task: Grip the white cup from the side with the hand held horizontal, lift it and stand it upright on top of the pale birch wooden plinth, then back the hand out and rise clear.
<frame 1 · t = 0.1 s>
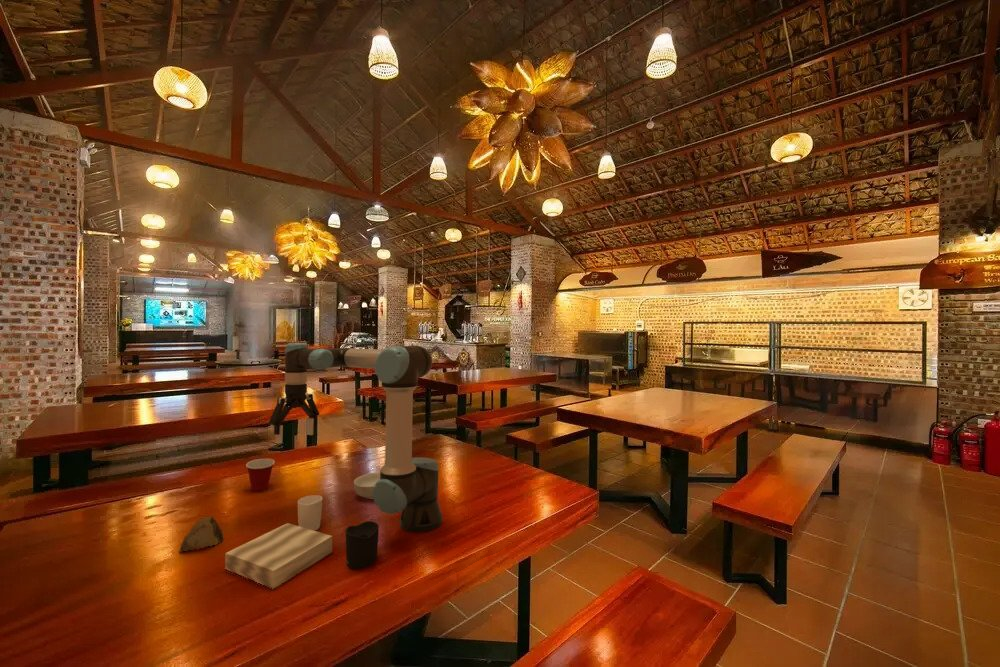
hand: (295, 438, 151), 28 cm above the table, tool pointing down, fingers open, 13 cm apart
rock: (201, 547, 126), on the table
cereal bowl: (374, 495, 167), on the table
pen holder: (361, 562, 119), on the table
plastic cup: (260, 490, 171), on the table
white cup: (309, 528, 138), on the table
birch plinth: (280, 560, 118), on the table
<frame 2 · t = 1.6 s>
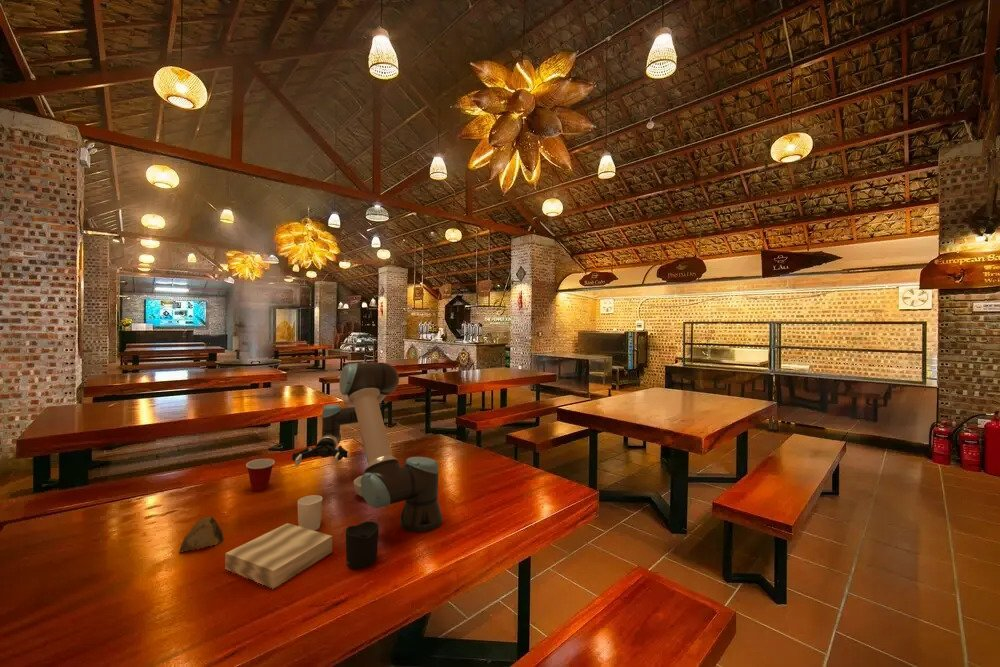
hand: (316, 462, 148), 20 cm above the table, tool horizontal, fingers open, 13 cm apart
nothing on the table moved.
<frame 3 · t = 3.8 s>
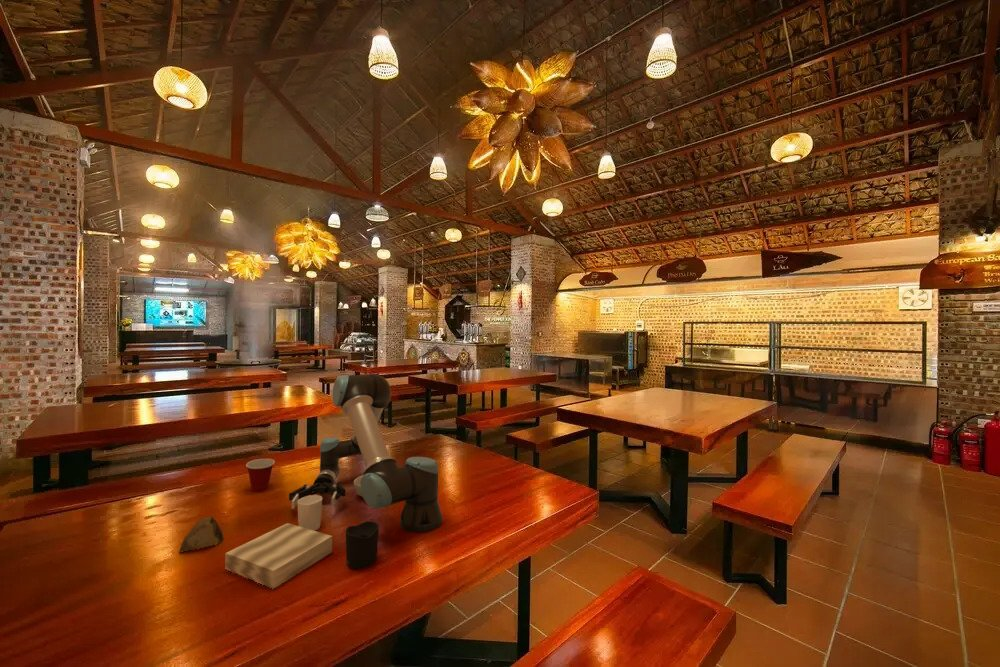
hand: (312, 503, 145), 6 cm above the table, tool horizontal, fingers open, 13 cm apart
nothing on the table moved.
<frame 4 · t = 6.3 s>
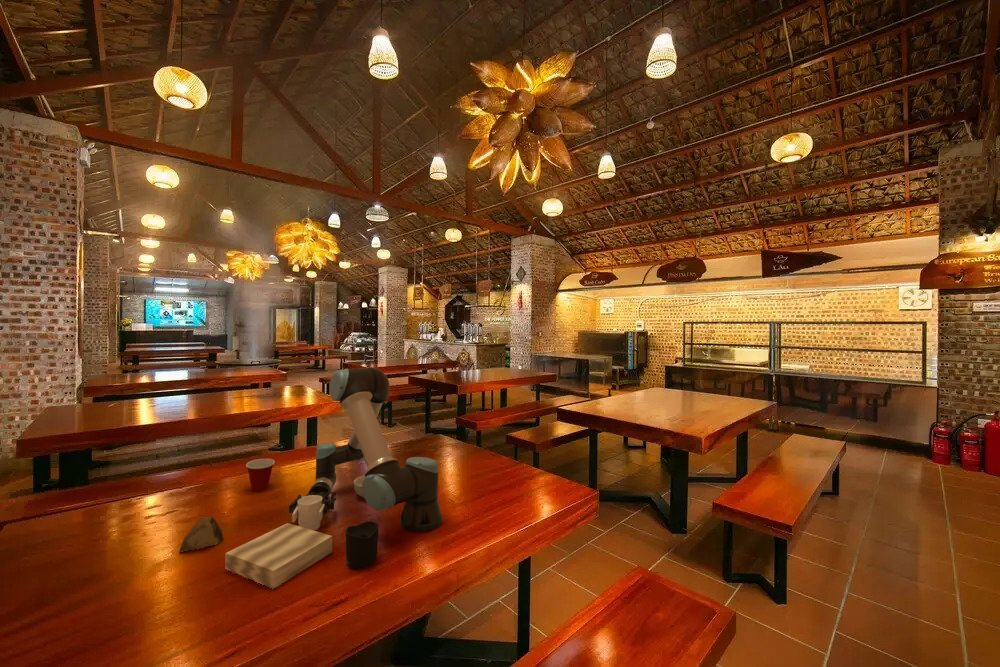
hand: (306, 517, 134), 6 cm above the table, tool horizontal, fingers closed on white cup, 8 cm apart
white cup: (309, 528, 138), on the table, touching gripper
everything else where it was.
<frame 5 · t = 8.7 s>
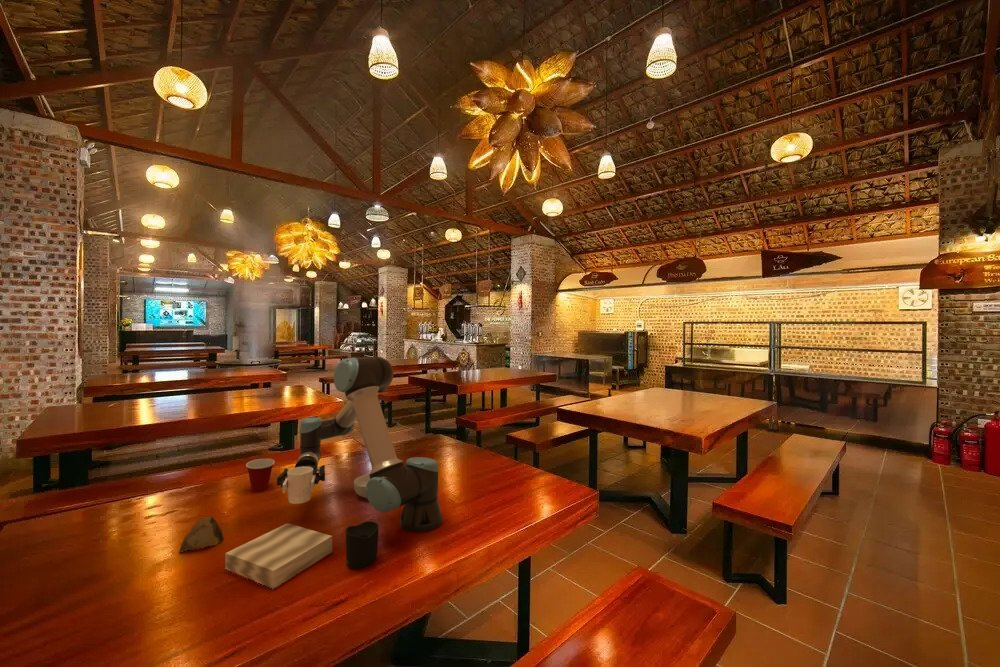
hand: (298, 487, 129), 18 cm above the table, tool horizontal, fingers closed on white cup, 8 cm apart
white cup: (299, 500, 133), point 12 cm above the table, touching gripper
everything else where it was.
when the fingers open (12 cm above the table, at t = 11.4 s): white cup drops 1 cm, resting on birch plinth.
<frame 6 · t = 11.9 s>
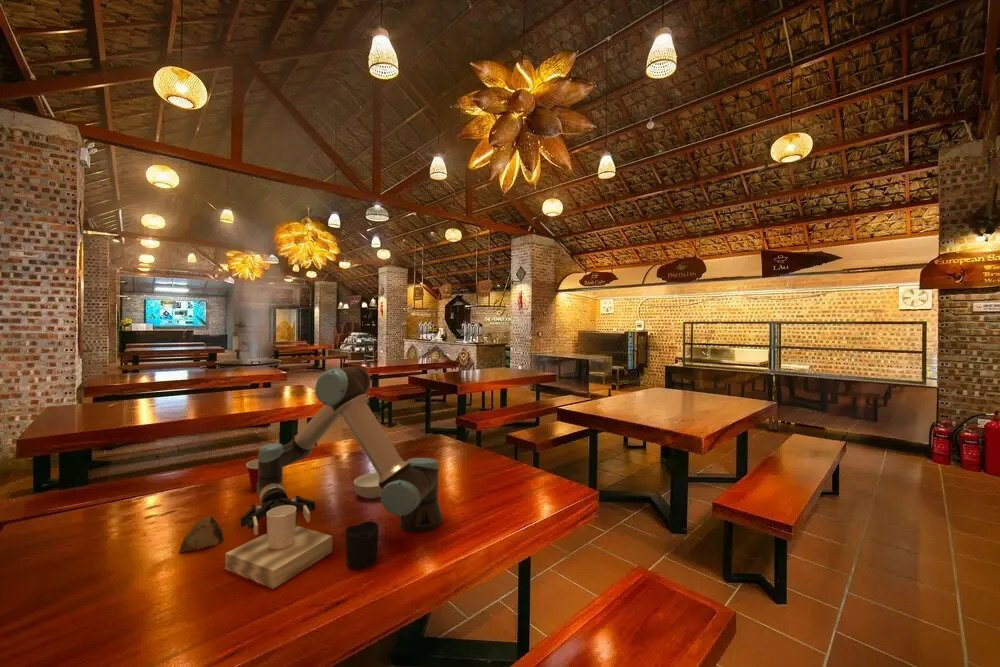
hand: (283, 523, 116), 12 cm above the table, tool horizontal, fingers open, 13 cm apart
white cup: (281, 544, 118), point 5 cm above the table, touching birch plinth
everything else where it was.
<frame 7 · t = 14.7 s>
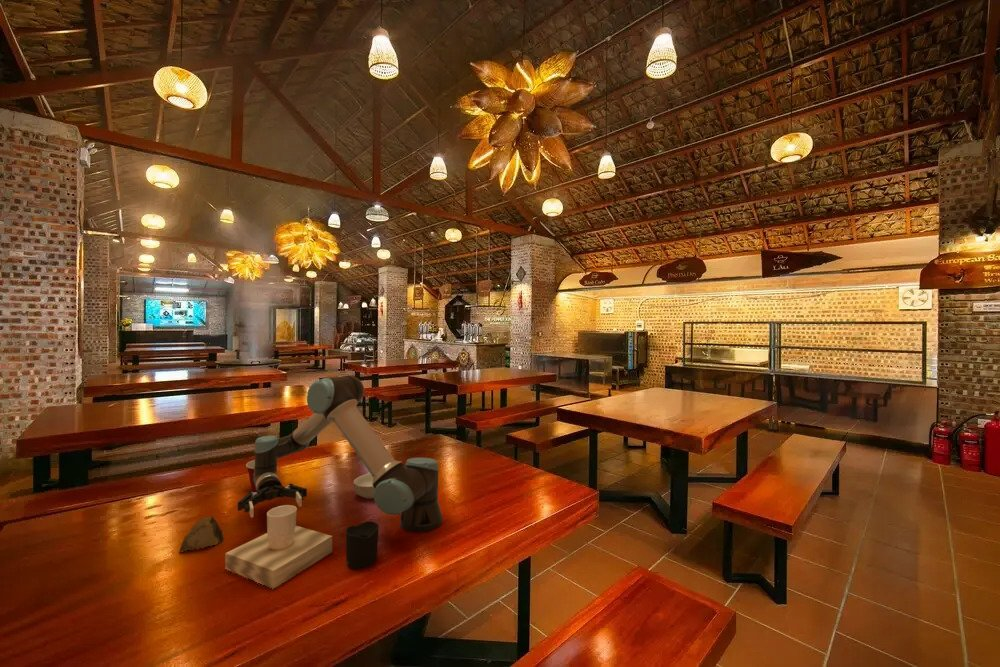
hand: (277, 507, 126), 13 cm above the table, tool horizontal, fingers open, 13 cm apart
nothing on the table moved.
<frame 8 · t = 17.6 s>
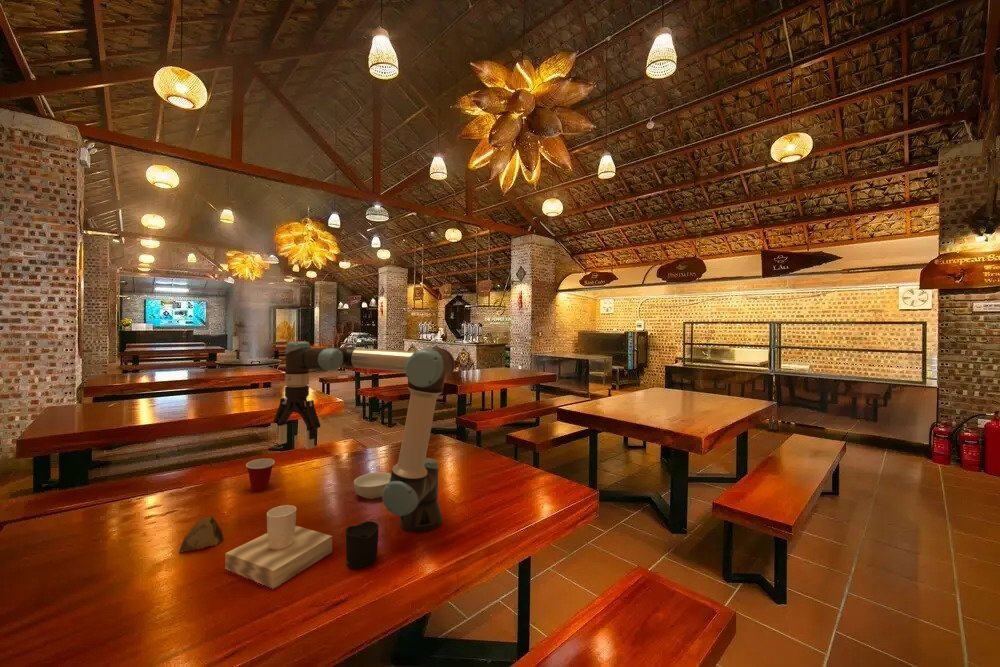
hand: (296, 445, 139), 29 cm above the table, tool pointing down, fingers open, 13 cm apart
nothing on the table moved.
at the end: white cup inside the target area on the birch plinth (0.1 cm from its centre), point 4.8 cm above the birch plinth's base; white cup tilted 0°; the gripper is holding nothing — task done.
